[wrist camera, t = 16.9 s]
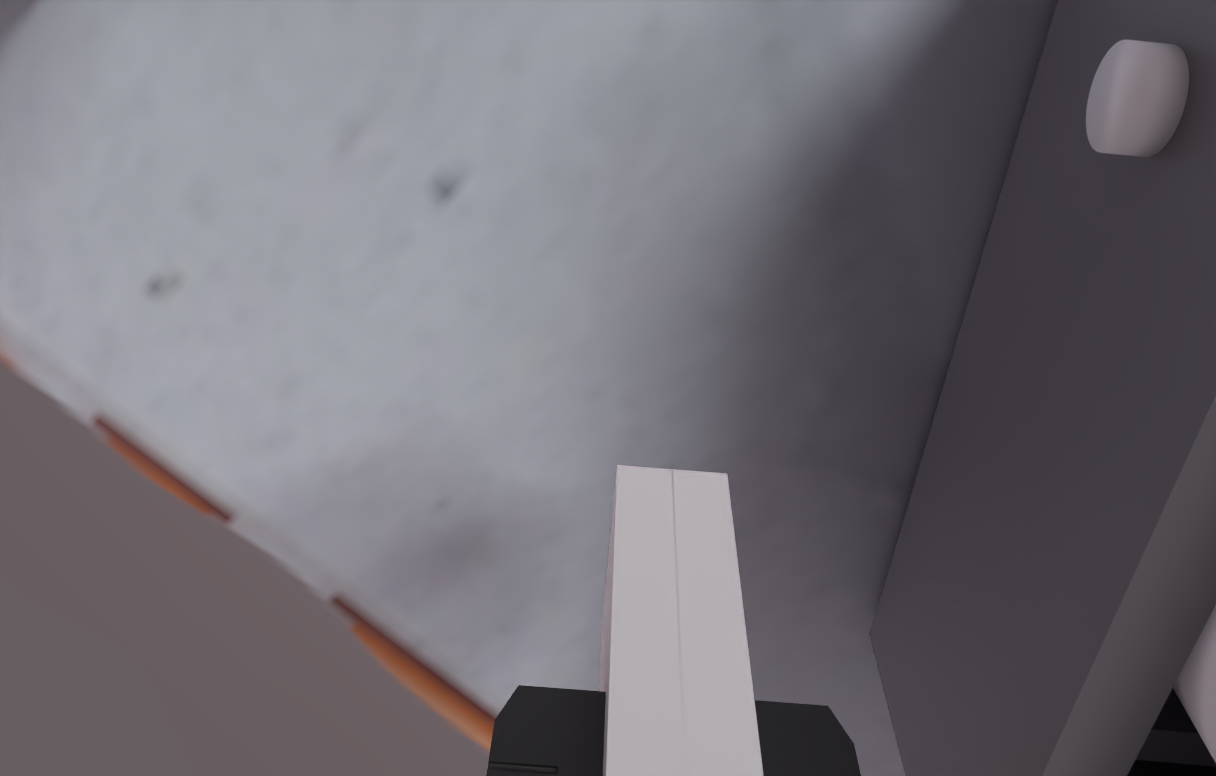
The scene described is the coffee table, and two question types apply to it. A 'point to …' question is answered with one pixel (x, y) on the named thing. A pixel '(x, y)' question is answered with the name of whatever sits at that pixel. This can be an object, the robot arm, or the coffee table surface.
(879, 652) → the drawer
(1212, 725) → the disc
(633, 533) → the robot arm
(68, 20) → the coffee table surface
